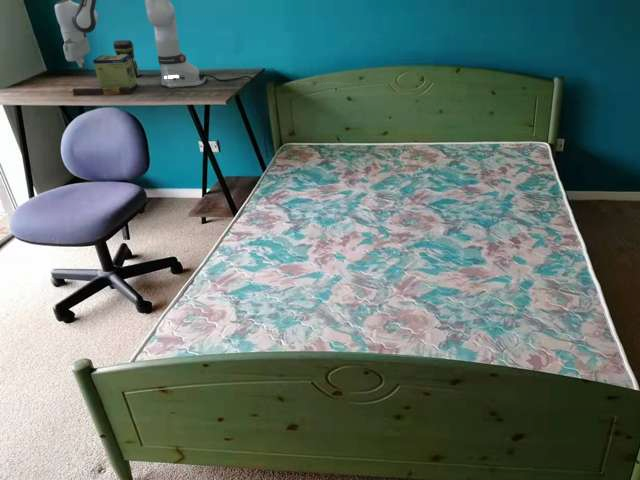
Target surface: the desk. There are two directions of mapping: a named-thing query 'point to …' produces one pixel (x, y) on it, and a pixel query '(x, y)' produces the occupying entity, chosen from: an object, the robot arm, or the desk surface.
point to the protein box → (115, 71)
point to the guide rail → (102, 91)
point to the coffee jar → (126, 52)
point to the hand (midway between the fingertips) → (82, 66)
